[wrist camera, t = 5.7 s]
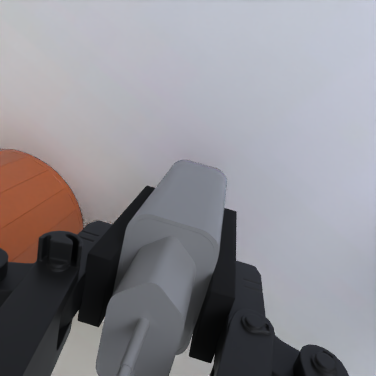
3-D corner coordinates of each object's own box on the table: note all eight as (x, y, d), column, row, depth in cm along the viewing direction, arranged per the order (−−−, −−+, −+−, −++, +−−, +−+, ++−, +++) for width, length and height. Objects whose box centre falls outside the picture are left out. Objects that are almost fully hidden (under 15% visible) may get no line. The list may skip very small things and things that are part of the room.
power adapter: (230, 172, 16) (213, 375, 5) (203, 257, 18) (147, 541, 7) (174, 156, 16) (37, 317, 5) (152, 242, 18) (19, 494, 7)
